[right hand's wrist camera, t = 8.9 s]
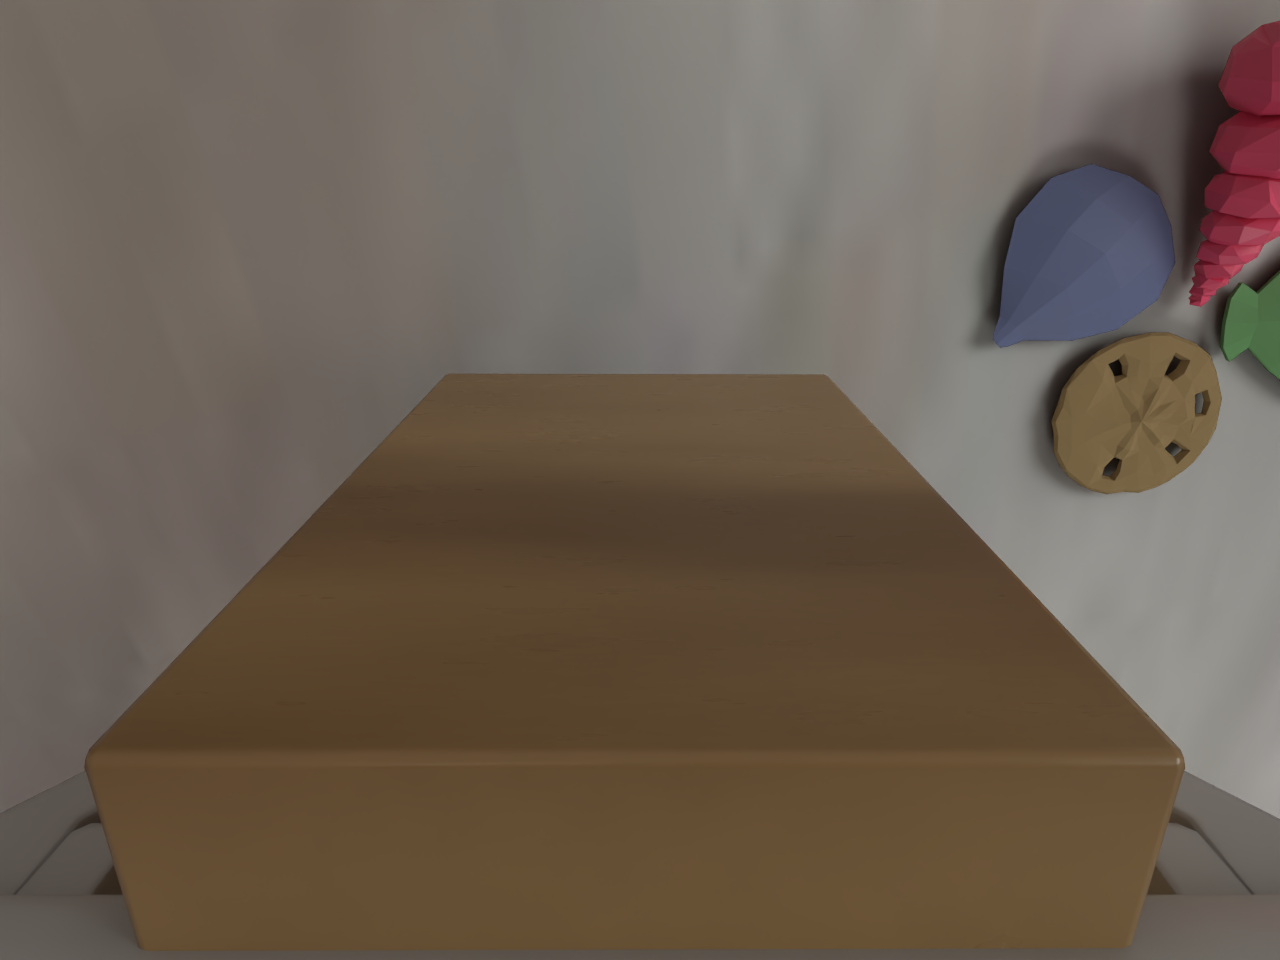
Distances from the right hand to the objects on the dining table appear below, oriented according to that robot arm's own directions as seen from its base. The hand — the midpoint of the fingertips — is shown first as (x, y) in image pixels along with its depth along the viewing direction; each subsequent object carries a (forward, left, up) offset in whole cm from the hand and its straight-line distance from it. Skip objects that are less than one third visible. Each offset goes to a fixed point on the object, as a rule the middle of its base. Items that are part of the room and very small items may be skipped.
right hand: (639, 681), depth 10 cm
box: (+5, +9, -4) cm, 11 cm away
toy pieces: (-15, +4, -14) cm, 21 cm away
